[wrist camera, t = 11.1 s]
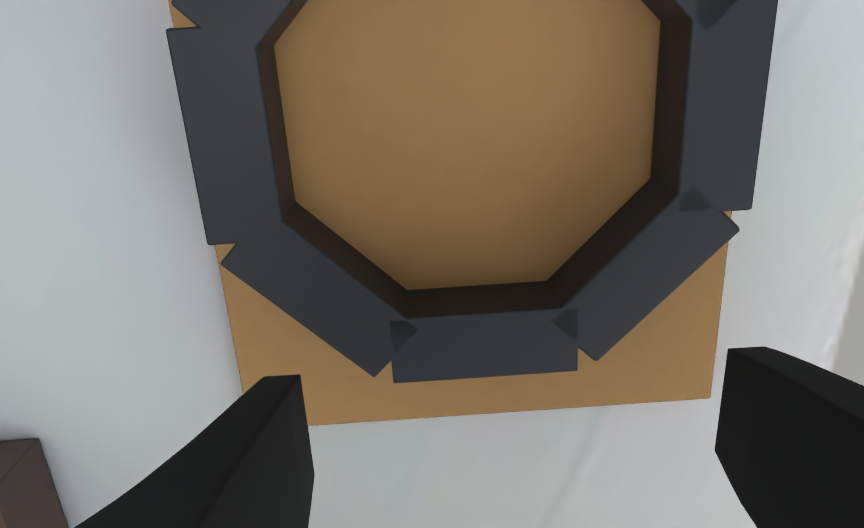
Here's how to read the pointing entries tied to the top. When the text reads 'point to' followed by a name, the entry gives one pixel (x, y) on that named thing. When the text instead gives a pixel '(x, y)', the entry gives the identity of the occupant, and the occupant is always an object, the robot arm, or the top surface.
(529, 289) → the headband ring
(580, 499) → the top surface
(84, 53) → the top surface
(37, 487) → the stand
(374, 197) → the mat
